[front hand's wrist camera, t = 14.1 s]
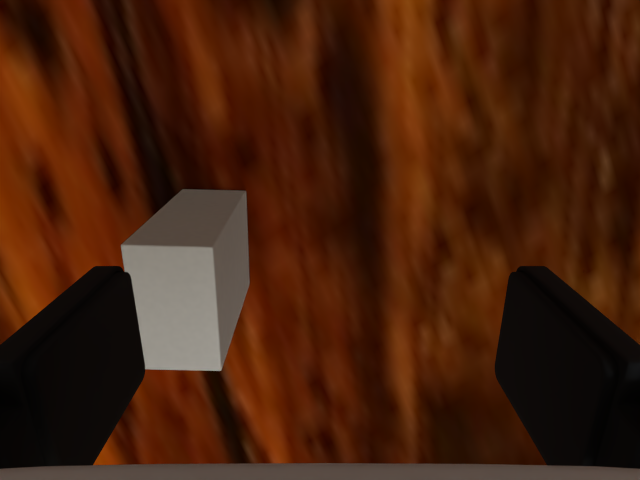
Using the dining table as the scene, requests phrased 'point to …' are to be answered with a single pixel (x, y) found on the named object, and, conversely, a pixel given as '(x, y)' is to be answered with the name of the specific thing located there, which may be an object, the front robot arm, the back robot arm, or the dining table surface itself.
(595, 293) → the dining table surface
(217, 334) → the brick
